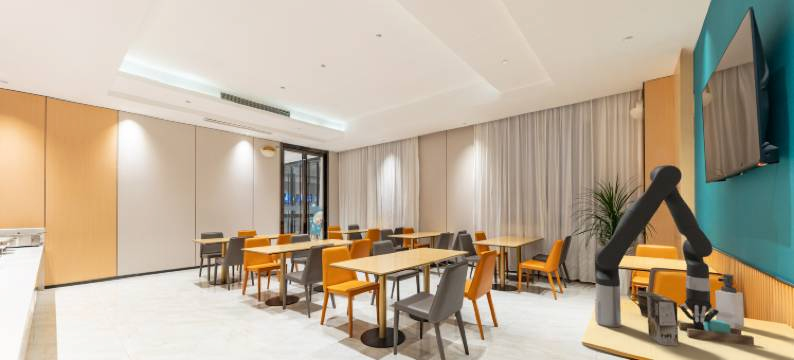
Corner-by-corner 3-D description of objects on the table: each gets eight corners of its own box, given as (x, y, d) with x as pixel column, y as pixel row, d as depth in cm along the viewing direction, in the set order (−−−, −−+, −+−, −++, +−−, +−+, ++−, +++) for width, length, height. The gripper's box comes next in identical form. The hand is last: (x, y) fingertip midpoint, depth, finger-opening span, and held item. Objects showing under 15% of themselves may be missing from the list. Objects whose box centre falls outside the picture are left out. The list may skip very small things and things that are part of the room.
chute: (688, 337, 138) (688, 329, 139) (679, 328, 148) (678, 321, 148) (754, 345, 131) (753, 337, 131) (739, 335, 140) (739, 328, 141)
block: (711, 338, 137) (710, 323, 138) (704, 333, 143) (703, 318, 143) (730, 341, 135) (730, 325, 136) (722, 335, 141) (722, 320, 141)
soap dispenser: (713, 324, 154) (711, 273, 155) (725, 322, 156) (723, 272, 158) (731, 329, 147) (729, 277, 149) (744, 327, 150) (741, 275, 151)
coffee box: (679, 346, 130) (677, 302, 131) (659, 344, 131) (658, 301, 132) (665, 336, 139) (664, 295, 140) (647, 335, 140) (646, 294, 141)
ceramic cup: (661, 314, 165) (660, 293, 166) (664, 321, 157) (663, 298, 157) (628, 310, 172) (628, 289, 173) (629, 315, 164) (629, 294, 164)
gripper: (681, 288, 141) (682, 331, 140) (723, 292, 136) (723, 337, 135) (674, 283, 148) (675, 325, 147) (713, 287, 143) (714, 330, 142)
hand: (698, 330), depth 141 cm, fingers closed
